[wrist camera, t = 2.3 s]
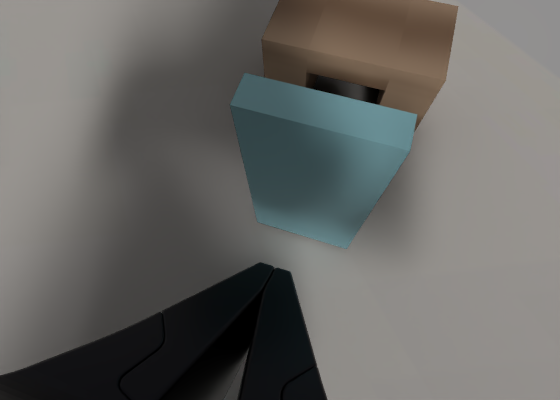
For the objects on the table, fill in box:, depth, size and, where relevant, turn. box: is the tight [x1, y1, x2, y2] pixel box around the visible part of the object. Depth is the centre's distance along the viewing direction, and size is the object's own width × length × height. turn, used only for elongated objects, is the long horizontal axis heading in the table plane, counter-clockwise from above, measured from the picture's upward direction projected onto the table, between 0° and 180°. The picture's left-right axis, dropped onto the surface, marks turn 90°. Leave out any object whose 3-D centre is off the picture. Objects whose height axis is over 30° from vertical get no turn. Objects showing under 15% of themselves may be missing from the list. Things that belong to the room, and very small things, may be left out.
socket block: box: [262, 0, 458, 132], centre depth 20 cm, size 5×9×6 cm, turn 72°
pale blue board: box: [230, 73, 417, 249], centre depth 15 cm, size 6×5×10 cm
